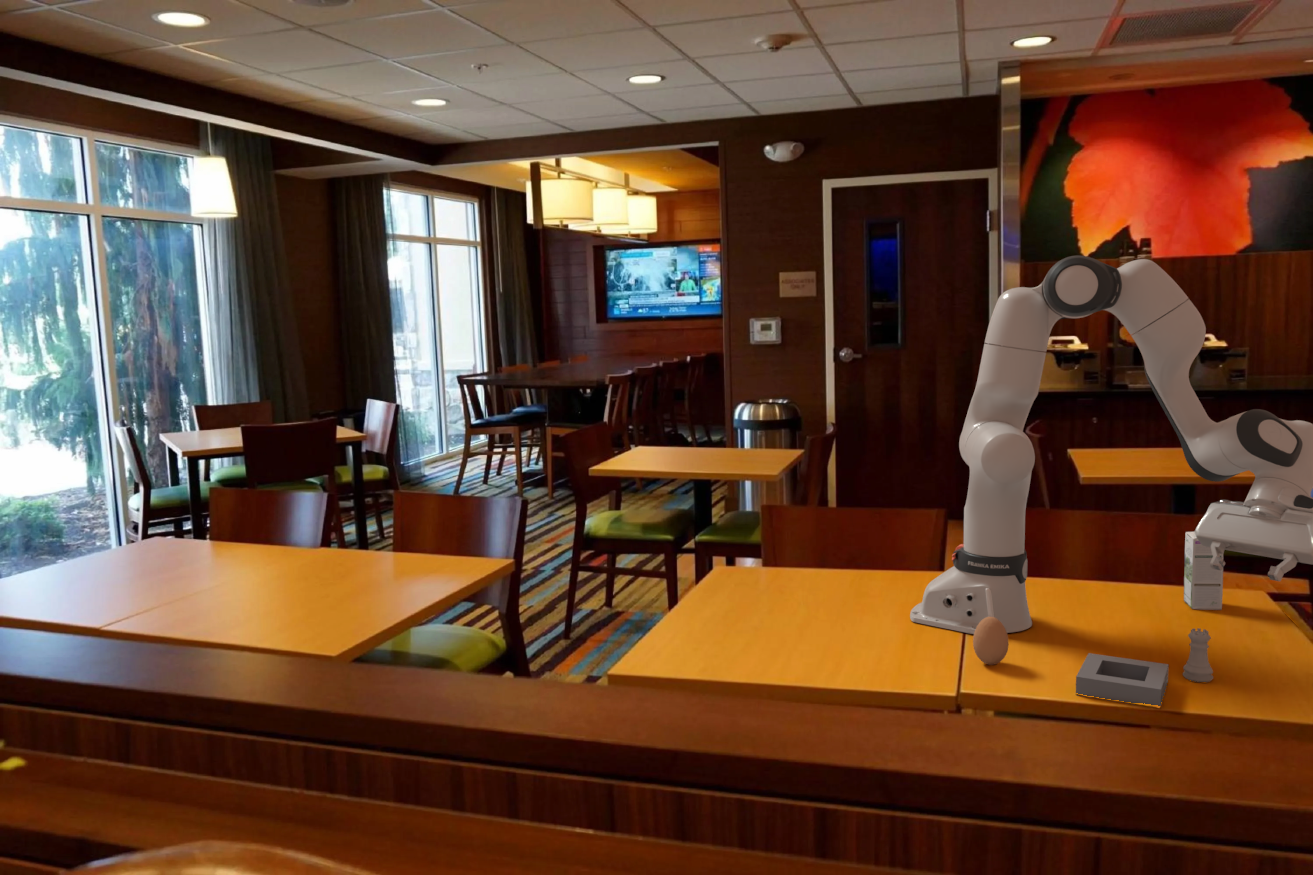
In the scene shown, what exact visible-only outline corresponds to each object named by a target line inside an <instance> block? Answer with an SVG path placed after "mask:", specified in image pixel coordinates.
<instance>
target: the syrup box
mask: <svg viewBox="0 0 1313 875" xmlns="http://www.w3.org/2000/svg"><path fill="white" fill-rule="evenodd" d="M1184 539H1185V540H1184V576H1183V601H1184V603H1185V604H1187V605H1188V607H1189V608H1190V609H1192V610H1199V611H1200V610H1202V611H1204V610H1205V611H1212V610H1213V611H1222V608H1223V594H1224V593H1223V589H1224V587H1223V585H1224V569H1223V570H1216V569H1212V568H1211V566H1210V562H1211V560H1212V558H1213V555H1212V550H1211V547H1206V546H1203V545H1202V544H1201V543H1200V542H1199V540H1198V539H1197V537H1196V535H1195V530H1194V531H1185V538H1184ZM1219 554H1220V553H1219ZM1220 557H1222V558H1223V559H1224V553H1223V554H1220Z"/></svg>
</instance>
